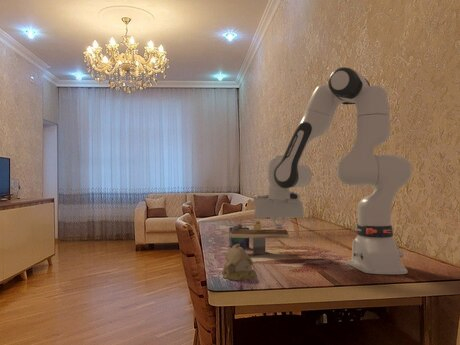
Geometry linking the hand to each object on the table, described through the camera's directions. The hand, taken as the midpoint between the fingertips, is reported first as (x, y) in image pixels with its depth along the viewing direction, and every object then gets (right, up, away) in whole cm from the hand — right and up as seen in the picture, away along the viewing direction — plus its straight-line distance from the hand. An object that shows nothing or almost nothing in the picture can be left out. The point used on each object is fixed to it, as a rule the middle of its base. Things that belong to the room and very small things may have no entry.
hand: (278, 228), depth 167 cm
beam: (-8, -10, +1) cm, 13 cm away
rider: (-9, -2, +1) cm, 9 cm away
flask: (-16, -11, +15) cm, 24 cm away
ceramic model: (-18, -10, -38) cm, 43 cm away
